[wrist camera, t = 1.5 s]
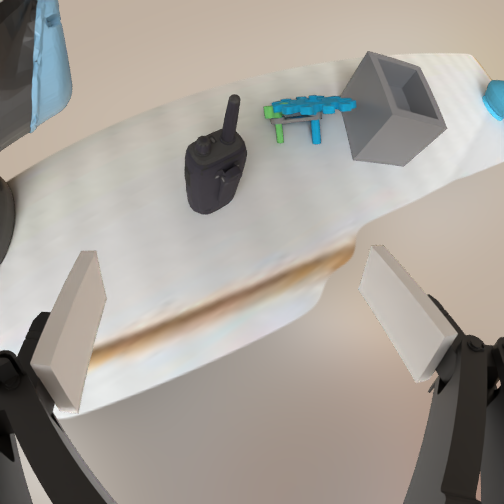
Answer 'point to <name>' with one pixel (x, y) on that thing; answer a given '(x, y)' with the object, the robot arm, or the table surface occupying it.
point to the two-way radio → (215, 164)
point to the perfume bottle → (495, 99)
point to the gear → (306, 112)
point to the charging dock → (390, 111)
